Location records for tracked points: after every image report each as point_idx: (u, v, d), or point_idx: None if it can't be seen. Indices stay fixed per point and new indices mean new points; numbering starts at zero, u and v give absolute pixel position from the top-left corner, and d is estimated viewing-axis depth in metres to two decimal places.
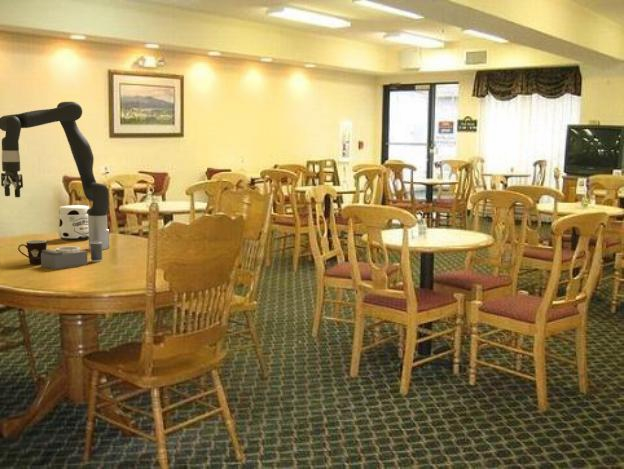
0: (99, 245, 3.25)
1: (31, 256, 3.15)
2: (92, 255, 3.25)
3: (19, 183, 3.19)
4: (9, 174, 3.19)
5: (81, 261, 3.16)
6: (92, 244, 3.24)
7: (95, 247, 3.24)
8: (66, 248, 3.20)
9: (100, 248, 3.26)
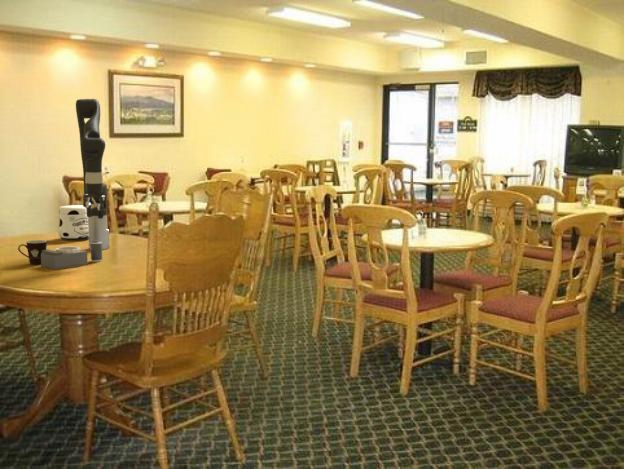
0: (99, 245, 3.25)
1: (31, 256, 3.15)
2: (92, 255, 3.25)
3: None
4: (92, 195, 3.22)
5: (81, 261, 3.16)
6: (92, 244, 3.24)
7: (95, 247, 3.24)
8: (66, 248, 3.20)
9: (100, 248, 3.26)
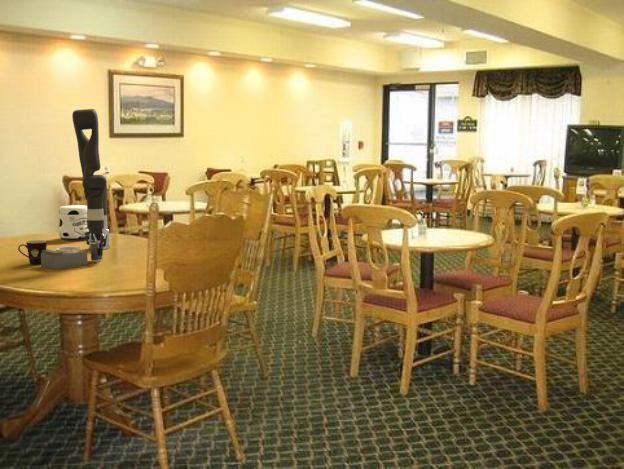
0: None
1: (31, 256, 3.15)
2: (92, 255, 3.25)
3: None
4: (94, 232, 3.25)
5: (81, 261, 3.16)
6: (92, 244, 3.24)
7: (95, 247, 3.24)
8: (66, 248, 3.20)
9: None
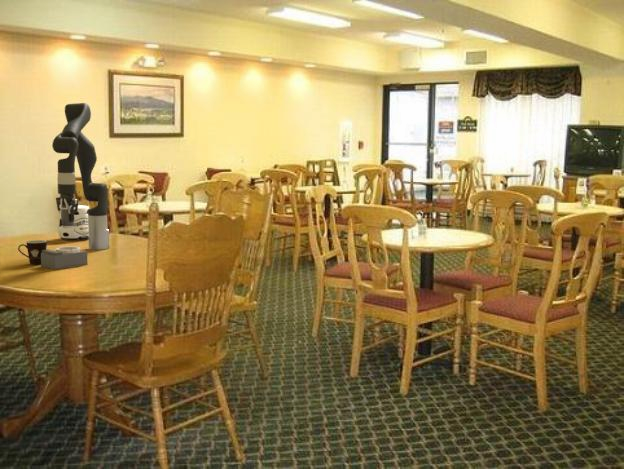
0: None
1: (31, 256, 3.15)
2: (63, 221, 3.12)
3: (74, 207, 3.13)
4: (65, 197, 3.12)
5: (81, 261, 3.16)
6: (63, 209, 3.11)
7: (66, 213, 3.11)
8: (66, 248, 3.20)
9: None
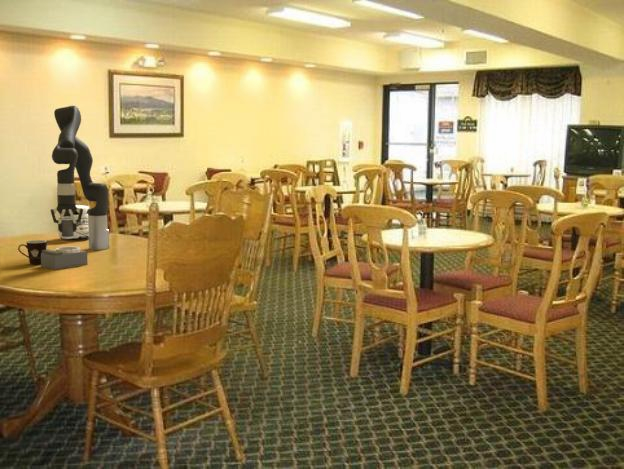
0: None
1: (31, 256, 3.15)
2: (68, 232, 3.13)
3: None
4: (67, 207, 3.13)
5: (81, 261, 3.16)
6: (68, 220, 3.12)
7: (71, 223, 3.14)
8: (66, 248, 3.20)
9: None
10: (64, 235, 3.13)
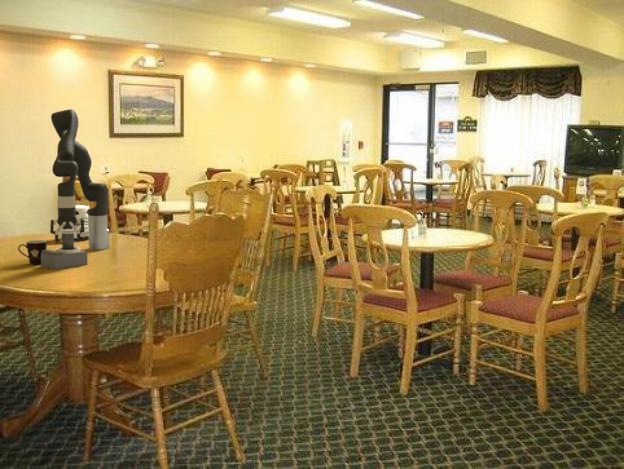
0: (73, 234, 3.16)
1: (31, 256, 3.15)
2: (69, 246, 3.14)
3: None
4: (67, 220, 3.13)
5: (81, 261, 3.16)
6: (69, 234, 3.13)
7: (72, 237, 3.15)
8: None
9: None
10: (65, 249, 3.14)
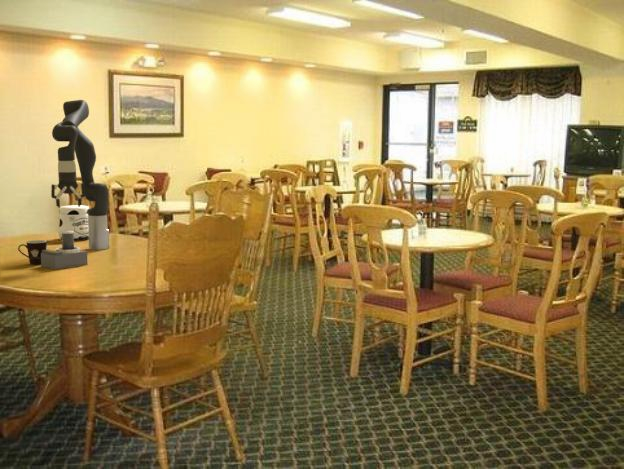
0: (73, 234, 3.16)
1: (31, 256, 3.15)
2: (69, 246, 3.14)
3: None
4: (68, 184, 3.16)
5: (81, 261, 3.16)
6: (69, 234, 3.13)
7: (72, 237, 3.15)
8: None
9: None
10: (65, 249, 3.14)
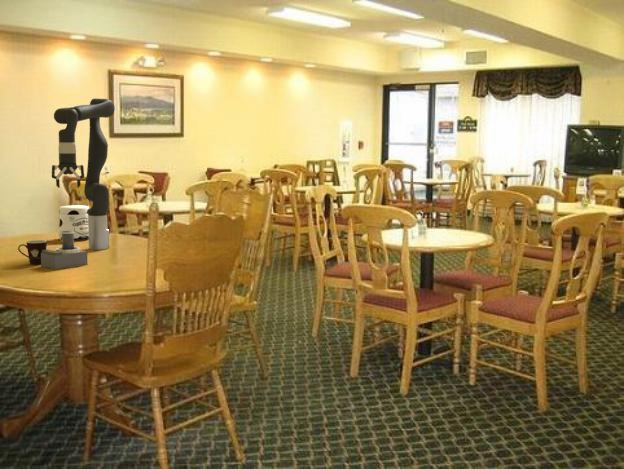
0: (73, 234, 3.16)
1: (31, 256, 3.15)
2: (69, 246, 3.14)
3: None
4: (68, 165, 3.28)
5: (81, 261, 3.16)
6: (69, 234, 3.13)
7: (72, 237, 3.15)
8: None
9: None
10: (65, 249, 3.14)
